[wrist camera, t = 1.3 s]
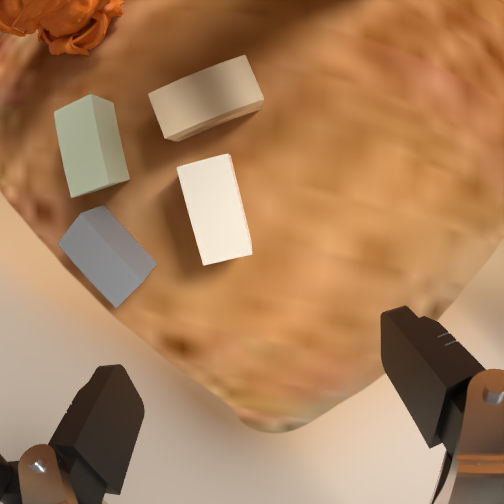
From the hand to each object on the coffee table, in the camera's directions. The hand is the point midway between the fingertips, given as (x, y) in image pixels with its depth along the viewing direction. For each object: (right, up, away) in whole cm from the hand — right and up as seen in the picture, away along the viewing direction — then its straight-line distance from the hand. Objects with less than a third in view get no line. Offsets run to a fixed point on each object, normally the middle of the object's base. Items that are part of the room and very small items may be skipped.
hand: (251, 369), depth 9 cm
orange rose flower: (-17, +28, +13) cm, 35 cm away
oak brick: (-4, +17, +17) cm, 24 cm away
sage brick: (-14, +14, +17) cm, 26 cm away
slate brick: (-13, +4, +20) cm, 25 cm away
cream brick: (-3, +8, +19) cm, 21 cm away
